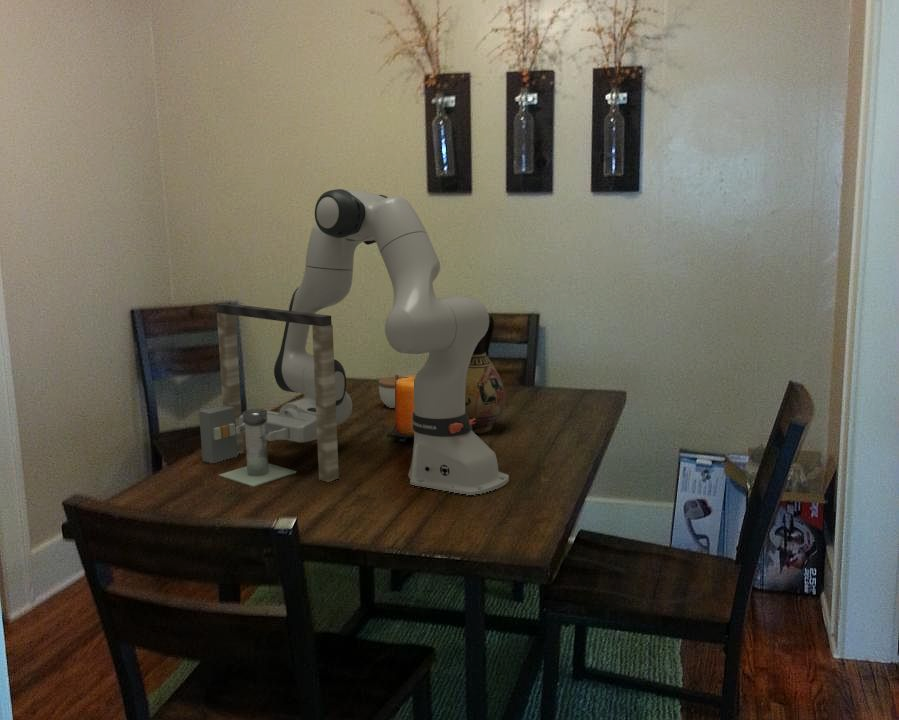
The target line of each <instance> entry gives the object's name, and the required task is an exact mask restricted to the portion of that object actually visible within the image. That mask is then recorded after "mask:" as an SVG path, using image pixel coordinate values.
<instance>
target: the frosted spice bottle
mask: <svg viewBox="0 0 899 720" xmlns="http://www.w3.org/2000/svg"><path fill="white" fill-rule="evenodd" d="M267 411H268V410H267V409H263V408H253V409H252V408H251V409H247V410H244V411H242V414H243V422H244V423H245V434H244V435H245V451H246V452H245V453H246V466H247V474H248V475H250V476H263V475H266V474H268V473H269V470H268V463H269V452H268V440H265V433H266V432H267V430H266V421H267Z"/></svg>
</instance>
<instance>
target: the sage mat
mask: <svg viewBox="0 0 899 720" xmlns="http://www.w3.org/2000/svg"><path fill="white" fill-rule="evenodd" d="M268 470H269V473H268V474H266V475H263V476H250V475H248V474H247V465H246V466H242V467H239V468H237V469H234V470H230V471H227V472H224V473H221V474H218V476H219V477H221V478H225V479H227V480H230V481H234V482H237V483H240V484H243V485H246V486H250V487H252V488H255V487H257V486H260V485H264V484H267V483H269V482H270V483H271V482H272V481H273V482H274V481H275V480H278V479H283V478H285V477H287V476H290V475H295V474H296V473H297V470H293V469H290V468H286V467H282V466H280V465H275V464H272V463H269V462H268Z"/></svg>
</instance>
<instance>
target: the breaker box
mask: <svg viewBox="0 0 899 720" xmlns="http://www.w3.org/2000/svg"><path fill="white" fill-rule="evenodd" d="M198 415H199V427H200V428H199V429H200V442H201V443H200V444H201V458H202V461H203V462H205V461H206V462H205V463H208V462H209V463H208V464H212V463H214V464H217V462H218V463H220V461H221V462H224V461H227V460H226V459H228V460H230V458H231V459H234V458H233V457H235V458H238V457H237V456H238V455H239V454H237V439H236V423H235V408H234V407H230V406H226V405H223V404H221V405H219V406H214V407H211V408H205V409H201V410H199V411H198ZM223 460H224V461H223Z"/></svg>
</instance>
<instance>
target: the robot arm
mask: <svg viewBox="0 0 899 720" xmlns="http://www.w3.org/2000/svg"><path fill="white" fill-rule="evenodd" d="M314 220H315V222H316V223H315V224H314V225H313V226H312V229H311V232H310V235H309V240H308V244H307V249H306V255H305V256H306V257H305V267H304V274H303V276H302V277H303V278H302V280H301V283H300V285H299V286H297V288H296V289H295V290H294V292H293V294H292V296H291V299H290V302H289V303H290V304H289V306H288V311H296V312H304V313H313V314H317V313H318V312H319V311H320V310H323V309H325V308H329V307H332V306H335V305H337V304H338V303H340V302H342V301H343V300H344V299H345V298H346V297H347V296H348V295H349V293H350V291H351V288H352V284H353V273H354V258H355V257H354V256H355V251H356V249H357V247H358V246H359V245H360V244H362V243H363V244H365V245H368V246H370V245H373V244H374V243H375V244H376V246H377V247H378V251H379V253H380V256H381V258H382V261H383V262H384V265H385V268H386V270H387V274H388V276H389V278H390V281H391V285H392V289H393V290H392V291H393V303H392V307H391V309H390V311H389V312H388V314H387V316H386V318H385V323H384V333H385V337H386V340H387V342H388V344H389V345H390V346H391V348H392V349H393V350H394V351H396V352H398V353H400V354H412V355H420V354H421V355H422V354H427V353H429V354H428V357H427V359H426V361H425V363H424V365H423V366H422V367H421V368H420V369H419V370H418V372H417V373H416V374H415V376H414V399H413V405H414V407H413V413H412V420H411V424H412V431H414V433H413V434H414V436H413V446H412V447H413V448H412V457H411V462H410V467H409V471H408V474H407V476H408V478H409V479H410V480H409V485H410V484H411V485H415V486H422V487H427V488H433V489H438V490H443V491H442V492H444V491H449V492H448V493H450V492H454V493H453V494H455V493H460V494H459V495H461V494H466V495H465V496H468V495H474V496H476V495H475V494H480V495H483V494H482V493H484V494H487V493H486V492H488V493H490V492H489V491H491V492H493V490H494V491H496V490H498V489H501V488H502V487H504V486H505V485H506V484H508V483H509V482H510V477H509V474H507V473H505V472H501V471H499V464H498V459H497V456H496V453H495V451H493V450H492V449H491V448H490V447H489V446H488V445H487V444H486V443H485V441H483V440H482V439H481V438H480V437H479V436H478V435H477V434H475V433H474V432H473V431H472V426H471V424H474V423H476V422H473V421H474V420H475V419H476V418H473V419H470V420H469V417H468V414H467V412H466V411H465V389H466V376H467V370H468V366H469V363H470V360H471V357H472V354H473V352H474V350H475V348H476V346H477V344H478V343H479V341H480V340H481V339H482V338H483V336H484V335H485V334H486V332H487V330H488V327H489V315H490V314H489V312H488V308H487V307H486V306H485V304H484V303H483V302H482V300H480V299H478V298H476V297H470V296H464V295H453V296H447V297H445V296H444V297H437V295H436V293H435V290H434V286H433V285H434V284H433V282H434V281H435V280H436V279H437V277H438V275H439V273H440V271H441V263H440V260H439V258H438V255H437V253H436V251H435V249H434V246H433V244H432V241H431V239H430V237H429V235H428V232H427V229H426V228H425V226H424V224H423V222H422V221H421V219H420V216H419V215H418V214H417V212H416V211H415V208H414V207H413V206H412V204H411V203H410V202H409V201H408V200H407V199H405V198H403V197H401V196H396V195H395V196H386V195H384V194H376V193H373V192H368V191H367V192H366V191H365V190H356V189H341V188H337V189H335V188H334V189H331V190H328V191H325V192H323V193H322V194H321V195H320V197H319V198H318V199H317V201H316V204H315V207H314ZM310 327H311V325H307V324H299V323H291V322H285V327H284V331H283V335H282V341H281V344H280V345H281V346H280V350H279V352H278V355H277V357H276V360H275V363H274V366H273V367H274V368H273V376H274V378H275V382H276V384H277V386H278V387H279V388H280V389H281V390H283V391H285V392H289V393H297V394H302V395H304V396H303V398H300V399H296V400H295V401H289V402H287V403H285V404H283V405H282V406H281V408H280V409H279V412H276V411H272V410H267V421H266V430H267V432H266V433H265V440H267V442H273V441H276V440H277V441H278V440H279V441H281V440H285V441H290V442H295V443H309V442H312V441H316V440H317V421H316V398H315V376H314V354H310V353H308V352H307V350H306V347H307V342H308V336H309V332H310ZM334 371H335V396H336V421H337V426H339V425H341V424H343V423H344V422H346V420H348V418H349V417H350V416H351V414H352V411H353V402H352V397H351V396H350V395H349V394H348V392H347V391H346V390H347V376H346V371H345V369H344V367H343V365H342V363H341V362H340V361H339V360H337V359H335V358H334ZM236 434H239V435H243V436H244V435H245V423H244V422H243V413H242V415H241V416H240V417H239V426H237V427H236ZM411 485H410V486H411ZM495 489H496V490H495ZM438 490H437V491H438Z"/></svg>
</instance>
